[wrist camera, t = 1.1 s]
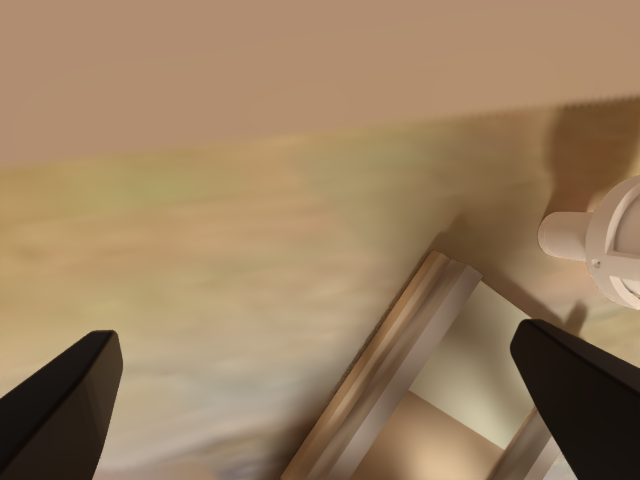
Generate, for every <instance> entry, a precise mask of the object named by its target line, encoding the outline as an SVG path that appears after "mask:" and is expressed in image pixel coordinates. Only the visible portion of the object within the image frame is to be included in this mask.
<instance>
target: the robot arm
mask: <svg viewBox="0 0 640 480" xmlns="http://www.w3.org/2000/svg"><path fill="white" fill-rule="evenodd" d="M510 354H511V356H512V358H513V360H514V363H515V365H516V367H517V369H518V371H519V373H520V375H521V377H522V379H523V381H524V383H525V386H526V388H527V390H528V392H529V394H530V396H531V398H532V400H533V402H534V404H535V406H536V408H537V410H538V412H539V414H540V416H541V418H542V420H543V421H544V423H545V425H546V427H547V428H548V430H549V432H550V433H551V435H552V437H553V438H554V440H555V442H556V443H557V445H558V447H559V449H560V450H561V452H562V454H563V455H564V457H565V459H566V460H567V462H568V464H569V465H570V467H571V469H572V471H573V472H574V474H575V476H576V477H577V479H578V480H640V368H638V367H636V366H634V365H632V364H630V363H628V362H626V361H624V360H622V359H620V358H618V357H616V356H614V355H612V354H610V353H608V352H606V351H604V350H602V349H600V348H598V347H596V346H594V345H592V344H590V343H588V342H586V341H584V340H582V339H580V338H578V337H576V336H574V335H572V334H570V333H568V332H566V331H564V330H562V329H560V328H558V327H556V326H554V325H552V324H550V323H548V322H546V321H544V320H541V319H524V320H522V321H521V322H520V323H519V325H518V327H517V329H516V332H515V334H514V336H513V338H512V341H511V343H510ZM122 371H123V359H122V353H121V348H120V343H119V338H118V334H117V333H116V331H114V330H96V331H92V332H90V333H88V334H87V335H86V336H84V337H83V338H82V339H80V340H79V341H77V342H76V343H75V344H73V345H72V346H71V347H69V348H68V349H67V350H65V351H64V352H63V353H61V354H60V355H59V356H57V357H56V358H54V359H53V360H52V361H50V362H49V363H48V364H46V365H45V366H44V367H42V368H41V369H40V370H38V371H37V372H36V373H34V374H33V375H31V376H30V377H29V378H27V379H26V380H25V381H23V382H22V383H21V384H19V385H18V386H17V387H15V388H14V389H13V390H11V391H10V392H8V393H7V394H6V395H4V396H3V397H2V398H0V480H92V478H93V476H94V473H95V470H96V468H97V465H98V462H99V459H100V456H101V453H102V450H103V447H104V443H105V439H106V436H107V432H108V428H109V424H110V420H111V416H112V412H113V408H114V403H115V399H116V395H117V391H118V387H119V383H120V379H121V375H122Z"/></svg>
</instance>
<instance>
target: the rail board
mask: <svg viewBox="0 0 640 480" xmlns="http://www.w3.org/2000/svg"><path fill="white" fill-rule="evenodd" d="M483 276H484V275H482V274H481V273H480V272H478V271H477V270H476V269H474V268H473V267H472V266H470V265H469V264H466V263H462V262H459V261H455V260H451V259H450V258H448V257H447V256H446V255H444V254H443V253H442V252H438V251H434V250H432V251H431V252H430V254H429V255H428V257H427V258H426V260H425V261H424V263H423V264H422V266H421V267H420V269H419V270H418V272H417V273H416V275H415V276H414V278H413V279H412V280H411V282H410V283H409V285H408V286H407V288H406V289H405V291H404V292H403V294H402V295H401V297H400V298H399V300H398V301H397V303H396V304H395V306H394V307H393V309H392V310H391V312H390V313H389V315H388V316H387V318H386V319H385V321H384V322H383V324H382V325H381V327H380V328H379V330H378V331H377V333H376V334H375V336H374V337H373V339H372V340H371V342H370V343H369V345H368V346H367V348H366V349H365V351H364V352H363V354H362V355H361V357H360V358H359V360H358V361H357V363H356V364H355V366H354V367H353V369H352V370H351V372H350V373H349V375H348V376H347V378H346V379H345V381H344V382H343V384H342V385H341V387H340V388H339V390H338V391H337V393H336V394H335V396H334V397H333V399H332V400H331V402H330V403H329V405H328V406H327V408H326V409H325V411H324V412H323V414H322V415H321V417H320V418H319V420H318V421H317V423H316V424H315V426H314V427H313V429H312V430H311V432H310V433H309V435H308V436H307V438H306V439H305V441H304V442H303V444H302V445H301V447H300V448H299V450H298V451H297V453H296V454H295V456H294V457H293V459H292V460H291V462H290V463H289V465H288V466H287V468H286V469H285V471H284V472H283V474H282V475H281V480H543V478H544V476H545V475H546V473H547V472H548V470H549V469H550V467H551V466H552V464H553V462H554V461H555V459H556V458H557V456H558V455H559V453H560V452H561V450H560V449H559V447H558V445H557V443H556V442H555V440H554V438H553V437H552V435H551V433H550V432H549V430H548V428H547V427H546V425H545V423H544V421H543V420H542V418H541V416H540V414H539V412H538V410H537V408H536V406H535V404H534V402H533V400H532V398H531V396H530V394H529V392H528V390H527V388H526V386H525V383H524V381H523V379H522V377H521V375H520V373H519V371H518V369H517V367H516V365H515V363H514V360H513V358H512V356H511V354H510V343H511V341H512V338H513V336H514V334H515V332H516V329H517V327H518V325H519V323H520V322H521V321H522V320H524V319H532V318H531V317H529V316H528V315H527V314H525V313H524V312H522V311H521V310H520V309H518V308H517V307H516V306H514V305H513V304H512V303H510V302H509V301H508V300H506V299H505V298H504V297H502V296H501V295H500V294H498V293H497V292H495V291H494V290H493V289H491V288H490V287H489V286H487V285H486V284H485V283H483V282H482V281H481V279H482V277H483Z"/></svg>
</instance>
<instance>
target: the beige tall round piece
mask: <svg viewBox="0 0 640 480" xmlns="http://www.w3.org/2000/svg"><path fill="white" fill-rule="evenodd" d="M538 242H539V245H540V247H541V249H542V250H543V251H544V252H545V253H546V254H548V255H550V256H554V257H560V258H567V259H573V260H579V261H585V262H587V266H588V270H589V273H590V275H591V278H592V280H593V282H594V283H595V285H596V287H597V288H598V289H599V290H600V292H601V293H602V294H603V295H604V296H606V297H607V298H608V299H610V300H611V301H613V302H615V303H617V304H619V305H623V306H626V307H630V308H634V309H637V310H640V298H637V297H635V296H634V295H632V294H631V293H634V294H638V295H640V175H639V176H634V177H631V178H628V179H626V180H624V181H622V182H620V183H619V184H617V185H616V186H614V187H613V188H612V189H611V190H610V191H609V192H608V193H607V194H606V195H605V196H604V197H603V198H602V200H601V201H600V202H599V204H598V206H597V207H596V209H595V211H594V212H554V213H551V214H549V215H548V216H547V217H545V219H544V220H543V221H542V223H541V224H540V227H539V230H538Z"/></svg>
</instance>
